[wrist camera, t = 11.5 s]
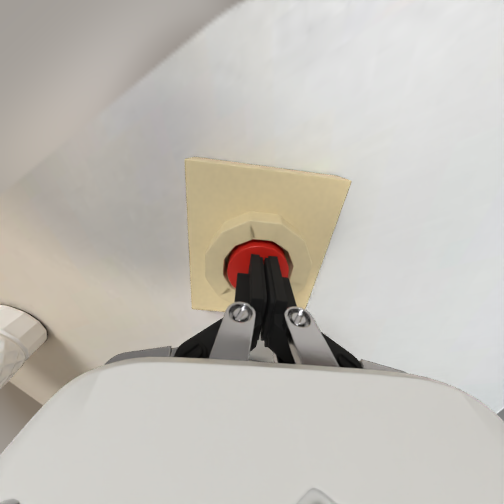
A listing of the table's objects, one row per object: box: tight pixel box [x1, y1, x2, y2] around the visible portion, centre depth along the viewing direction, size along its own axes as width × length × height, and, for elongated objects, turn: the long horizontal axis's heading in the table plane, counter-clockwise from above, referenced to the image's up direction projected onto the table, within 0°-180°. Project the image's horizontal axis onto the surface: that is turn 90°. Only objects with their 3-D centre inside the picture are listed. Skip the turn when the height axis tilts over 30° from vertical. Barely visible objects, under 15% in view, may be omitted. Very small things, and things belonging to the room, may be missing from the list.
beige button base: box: [185, 157, 351, 312], centre depth 14 cm, size 12×10×4 cm
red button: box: [227, 239, 289, 289], centre depth 13 cm, size 4×4×2 cm
